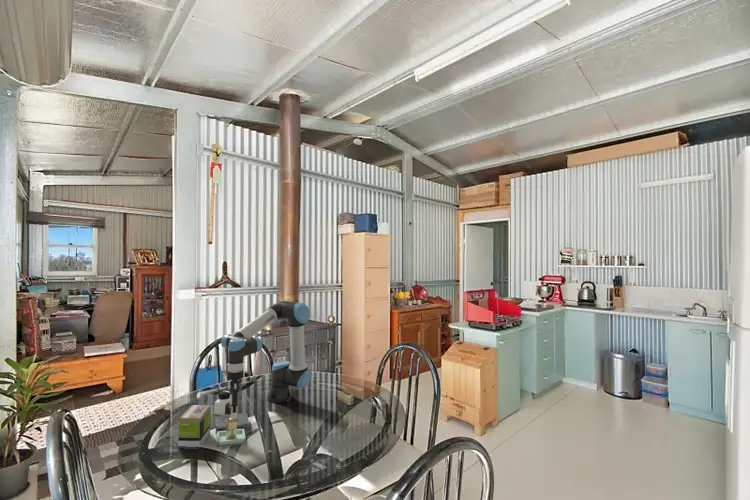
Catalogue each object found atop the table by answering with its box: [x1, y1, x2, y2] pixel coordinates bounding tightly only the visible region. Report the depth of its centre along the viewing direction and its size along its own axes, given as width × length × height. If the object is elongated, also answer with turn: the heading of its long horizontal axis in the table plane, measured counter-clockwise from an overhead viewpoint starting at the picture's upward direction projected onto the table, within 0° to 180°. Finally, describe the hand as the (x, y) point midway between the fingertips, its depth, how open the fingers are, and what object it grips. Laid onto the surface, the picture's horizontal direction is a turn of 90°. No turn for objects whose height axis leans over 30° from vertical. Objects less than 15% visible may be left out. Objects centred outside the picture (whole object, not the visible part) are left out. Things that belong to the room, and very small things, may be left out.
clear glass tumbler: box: [225, 416, 238, 440], centre depth 188 cm, size 5×5×10 cm
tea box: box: [177, 404, 212, 448], centre depth 185 cm, size 15×10×15 cm, turn 5°
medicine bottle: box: [213, 390, 231, 416], centre depth 217 cm, size 7×7×12 cm
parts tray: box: [216, 428, 246, 448], centre depth 188 cm, size 13×11×2 cm
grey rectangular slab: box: [215, 412, 250, 435], centre depth 201 cm, size 16×13×4 cm
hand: (233, 412), depth 188 cm, fingers open, 13 cm apart
